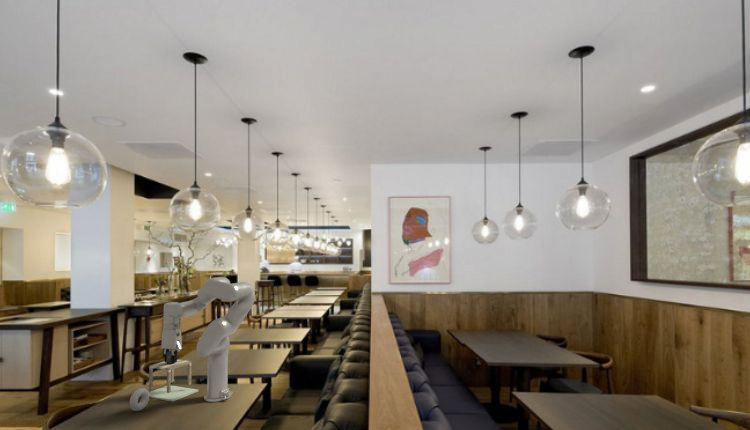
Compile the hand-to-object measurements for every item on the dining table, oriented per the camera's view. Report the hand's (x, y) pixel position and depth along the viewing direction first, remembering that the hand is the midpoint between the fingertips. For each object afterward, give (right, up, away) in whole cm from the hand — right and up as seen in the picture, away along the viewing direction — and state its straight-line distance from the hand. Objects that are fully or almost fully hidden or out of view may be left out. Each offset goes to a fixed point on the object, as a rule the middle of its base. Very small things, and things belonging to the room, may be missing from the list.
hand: (170, 361), depth 221 cm
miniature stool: (0, -13, -1) cm, 13 cm away
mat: (0, -16, -1) cm, 16 cm away
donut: (-3, -15, -24) cm, 28 cm away
